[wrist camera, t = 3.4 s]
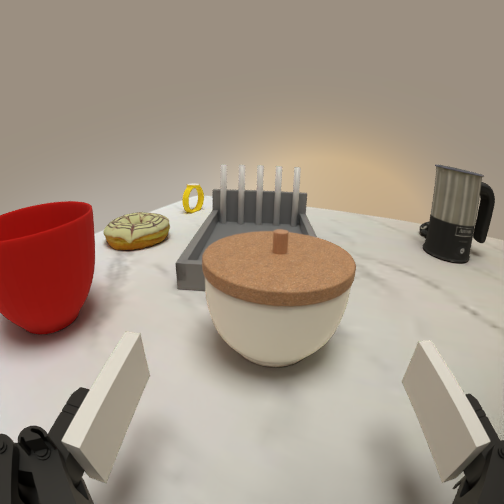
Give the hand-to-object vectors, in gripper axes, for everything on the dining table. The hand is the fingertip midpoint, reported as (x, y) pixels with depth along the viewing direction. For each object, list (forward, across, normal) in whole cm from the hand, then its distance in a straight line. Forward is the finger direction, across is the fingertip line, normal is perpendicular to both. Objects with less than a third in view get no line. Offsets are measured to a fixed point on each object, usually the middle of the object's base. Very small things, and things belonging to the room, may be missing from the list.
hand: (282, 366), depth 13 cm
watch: (+52, -16, -6) cm, 54 cm away
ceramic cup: (+12, -22, -6) cm, 26 cm away
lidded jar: (+9, 0, -6) cm, 11 cm away
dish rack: (+29, -2, -6) cm, 30 cm away
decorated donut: (+32, -21, -6) cm, 39 cm away
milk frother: (+36, +32, -6) cm, 49 cm away
